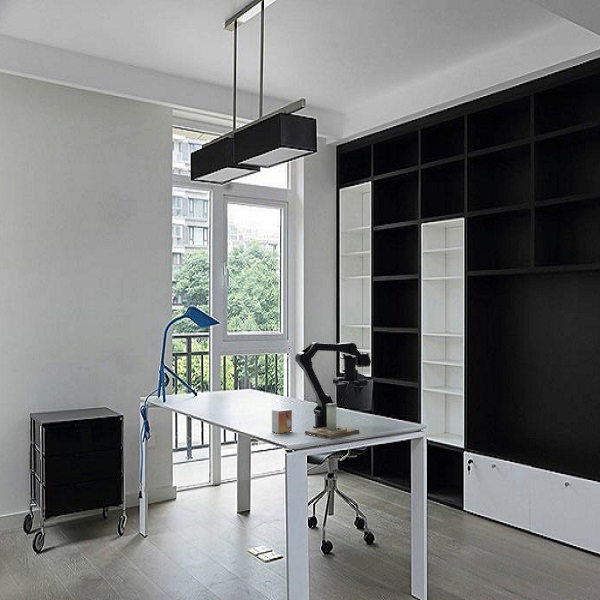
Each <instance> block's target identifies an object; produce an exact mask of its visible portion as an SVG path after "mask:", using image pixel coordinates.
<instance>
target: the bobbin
mask: <svg viewBox="0 0 600 600" xmlns="http://www.w3.org/2000/svg"><path fill="white" fill-rule="evenodd" d="M326 406H327V429H325V430H326V431H337V430H339V429H336V426H337V406H338V403H335V402H334V403H329V404H326Z"/></svg>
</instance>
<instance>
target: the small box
mask: <svg viewBox="0 0 600 600" xmlns="http://www.w3.org/2000/svg"><path fill="white" fill-rule="evenodd" d="M292 429H293V410H292V409H288V408H281V409H280V408H279V409H272V410H271V433H274V432H275V434H278V433H279V434H285V433H284V432H287V433H291V432H290V431H292V432H293V430H292Z"/></svg>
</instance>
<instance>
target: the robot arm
mask: <svg viewBox="0 0 600 600" xmlns="http://www.w3.org/2000/svg"><path fill="white" fill-rule="evenodd" d="M319 351H320V352H321V351H323V352H339V353H343V354H342V355H340V357H339V359H340V360H343V369H342V372H343V374H344V375H343V376H342V377H341V376H339V377H333V379H332V384H333V385H334V386H335V387H336V389H337V390H338V392H339V394H340V396H341V398H342V399H345V396H346V387H347V384H350V385H354V386H353V390H354V391H353V392H354V395H355V400H356V401H359V399H360V397H361V392H362V391H363V389H364V388H366V387H367V386H368V385H369V383H368V380H367V379H364V378H365V375H364V374H362V373H360V372H359V371H358V369H357V368H356V366H357V367H358V368H369V367H371V363H372V360H371V356H370V355H369V353H368V352H367V353H366V352H365V353H361V352H360V350H359V349H358V347H357V344H356V343H354V342H349V341H346V342H340V343H327V342H326V343H324V342H311V343H310V344H309V345H308V346H307V347H305V348H304V349H303V350H301V351H299V352H298V353H296V354H295V357H294V360H295V362H296V364H297V366H299V367H300V369H301V370H302V371H303V372H304V374H305V376H306V379H307V380H308V383H309V384H310V387H311V388H312V390H313V393H314V395H315V397H316V398H315V400H316V406H315V407H314V409H313V414H314V419H315V421H314V426H312V428H313V429H317V428H323V427H327V406H326V404H329V403H334V404H335V402H334V401H333V399H332V396H331V395H330V394H327V393H325V391H324V389H323V387H322V385H321V383H320V381H319V379H318V376H317V375H316V372H315V370H314V368H313V362H312V359H313V358H314V356H316V353H317V352H319Z"/></svg>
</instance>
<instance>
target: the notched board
mask: <svg viewBox="0 0 600 600" xmlns="http://www.w3.org/2000/svg"><path fill="white" fill-rule="evenodd" d="M325 429H327V427H323V428H313V429H308V430H305V431H304V434H305V433H306V434H305V435H307V434H311V435H310V436H312V435H315V436H314V437H317V436H320V437H319V438H322V437H326V438H325V439H327V438H332V439H337V438H341V437H345V436H350V435H355V434H360V429H359V428H353V427H347V426H341V425H336V429H339V430H337V431H326V430H325Z"/></svg>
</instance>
